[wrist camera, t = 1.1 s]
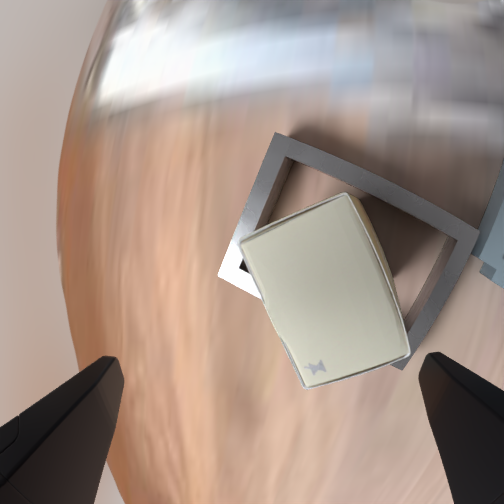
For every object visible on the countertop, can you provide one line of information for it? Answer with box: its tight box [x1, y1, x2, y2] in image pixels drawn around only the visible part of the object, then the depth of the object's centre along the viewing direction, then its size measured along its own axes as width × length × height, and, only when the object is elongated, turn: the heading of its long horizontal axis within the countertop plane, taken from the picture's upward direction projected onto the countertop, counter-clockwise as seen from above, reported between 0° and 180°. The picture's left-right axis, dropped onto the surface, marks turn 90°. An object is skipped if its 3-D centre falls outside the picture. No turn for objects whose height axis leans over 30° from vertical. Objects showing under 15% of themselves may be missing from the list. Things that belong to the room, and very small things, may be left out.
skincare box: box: [238, 192, 411, 390], centre depth 16 cm, size 6×4×12 cm
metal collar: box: [218, 132, 480, 370], centre depth 20 cm, size 14×10×2 cm
